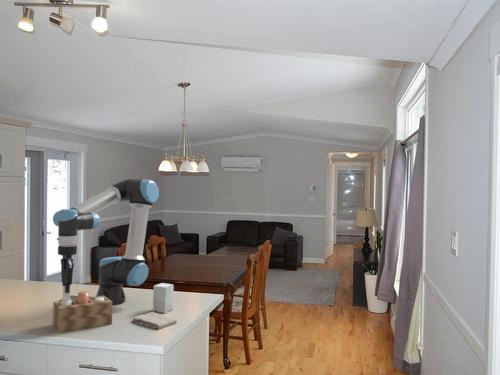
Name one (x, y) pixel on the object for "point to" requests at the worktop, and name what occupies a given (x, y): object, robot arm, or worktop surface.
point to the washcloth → (155, 320)
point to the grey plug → (66, 302)
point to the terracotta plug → (83, 297)
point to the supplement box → (163, 297)
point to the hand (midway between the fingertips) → (66, 299)
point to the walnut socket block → (82, 314)
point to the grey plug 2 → (98, 299)
